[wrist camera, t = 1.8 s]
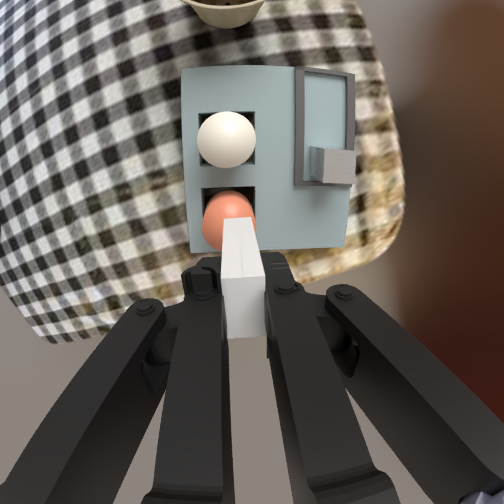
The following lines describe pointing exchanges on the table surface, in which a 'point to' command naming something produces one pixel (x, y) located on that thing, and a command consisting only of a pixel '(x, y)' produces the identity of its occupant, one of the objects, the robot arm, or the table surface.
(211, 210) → the salmon orange egg
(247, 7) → the flower pot
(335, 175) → the grey stone cube
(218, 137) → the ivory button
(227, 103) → the panel
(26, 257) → the table surface
